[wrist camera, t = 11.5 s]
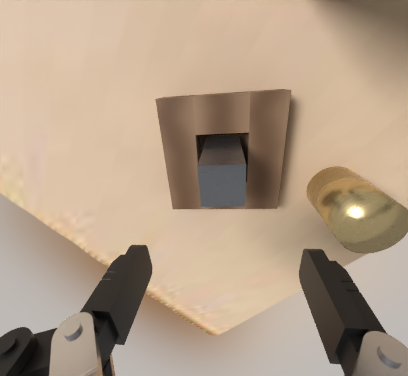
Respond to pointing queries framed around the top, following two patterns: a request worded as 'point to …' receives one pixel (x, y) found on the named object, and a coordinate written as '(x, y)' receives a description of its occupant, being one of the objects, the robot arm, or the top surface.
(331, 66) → the top surface
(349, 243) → the cylinder
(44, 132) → the top surface
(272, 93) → the bore block
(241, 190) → the square bit
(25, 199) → the top surface
